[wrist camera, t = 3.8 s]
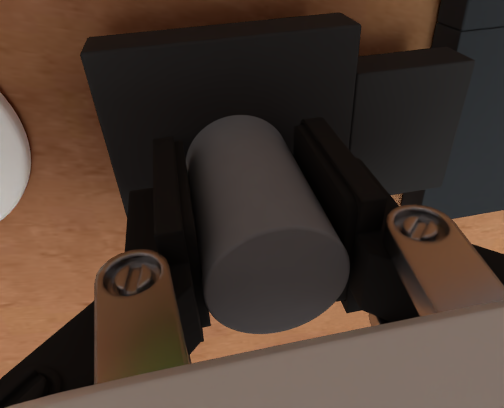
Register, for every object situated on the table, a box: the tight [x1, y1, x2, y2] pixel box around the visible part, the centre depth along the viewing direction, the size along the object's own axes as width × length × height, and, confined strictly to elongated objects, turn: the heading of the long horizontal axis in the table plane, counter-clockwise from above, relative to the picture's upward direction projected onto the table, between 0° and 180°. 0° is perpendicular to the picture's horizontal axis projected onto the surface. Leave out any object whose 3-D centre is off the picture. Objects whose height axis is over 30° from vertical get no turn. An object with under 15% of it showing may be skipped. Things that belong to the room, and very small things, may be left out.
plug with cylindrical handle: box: [80, 13, 475, 334], centre depth 11 cm, size 11×7×6 cm, turn 93°
